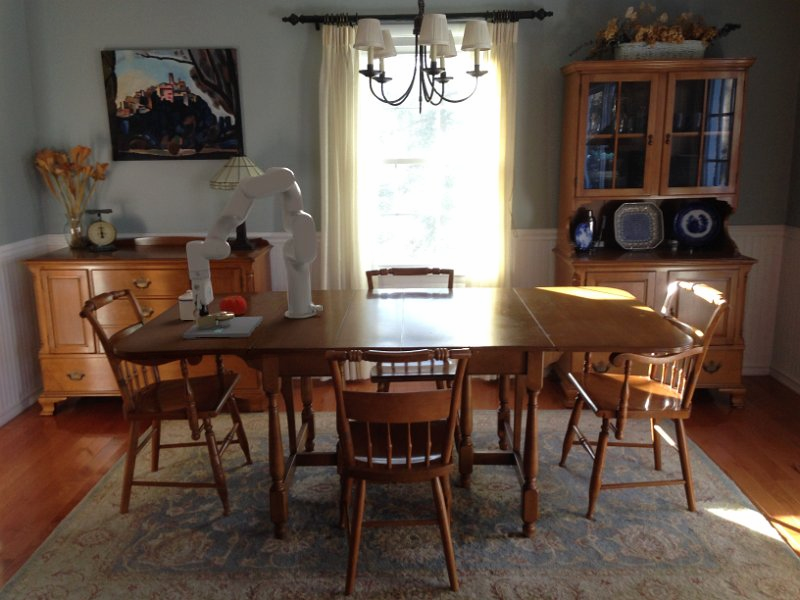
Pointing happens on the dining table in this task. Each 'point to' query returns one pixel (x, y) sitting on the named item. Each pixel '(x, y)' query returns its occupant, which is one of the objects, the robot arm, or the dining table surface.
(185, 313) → the teacup with lid
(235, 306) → the tomato
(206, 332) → the base
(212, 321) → the lock handle
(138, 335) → the dining table surface
